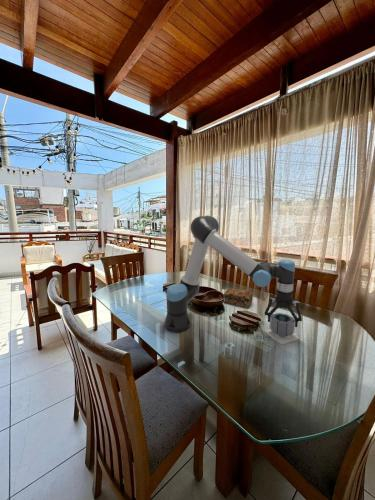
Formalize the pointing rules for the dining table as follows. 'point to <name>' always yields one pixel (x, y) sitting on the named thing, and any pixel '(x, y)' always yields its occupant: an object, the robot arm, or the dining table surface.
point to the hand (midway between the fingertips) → (281, 329)
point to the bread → (238, 297)
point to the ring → (282, 324)
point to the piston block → (281, 337)
